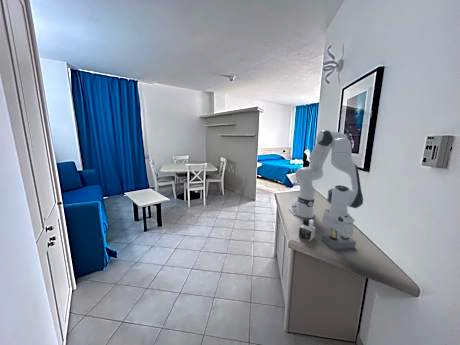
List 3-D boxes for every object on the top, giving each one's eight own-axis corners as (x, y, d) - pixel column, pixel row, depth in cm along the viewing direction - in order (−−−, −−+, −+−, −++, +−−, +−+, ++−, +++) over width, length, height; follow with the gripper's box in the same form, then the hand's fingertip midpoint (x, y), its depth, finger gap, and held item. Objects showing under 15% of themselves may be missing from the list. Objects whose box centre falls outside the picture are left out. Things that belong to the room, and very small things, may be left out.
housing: (334, 249, 113) (335, 243, 112) (322, 240, 122) (323, 234, 122) (354, 247, 116) (356, 241, 115) (341, 239, 126) (342, 233, 125)
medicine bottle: (298, 237, 125) (300, 219, 123) (303, 233, 130) (305, 216, 128) (309, 241, 120) (312, 222, 118) (314, 237, 126) (316, 219, 123)
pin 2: (339, 242, 121) (340, 230, 120) (343, 242, 122) (345, 229, 121) (343, 245, 118) (345, 232, 117) (347, 244, 119) (349, 232, 118)
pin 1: (329, 241, 119) (331, 228, 118) (334, 241, 120) (335, 228, 119) (333, 244, 116) (335, 231, 115) (338, 243, 117) (340, 230, 116)
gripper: (321, 208, 124) (318, 229, 127) (347, 221, 105) (343, 246, 107) (329, 207, 126) (326, 228, 128) (357, 221, 106) (353, 245, 109)
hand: (334, 236), depth 117 cm, fingers closed on pin 1, 3 cm apart
